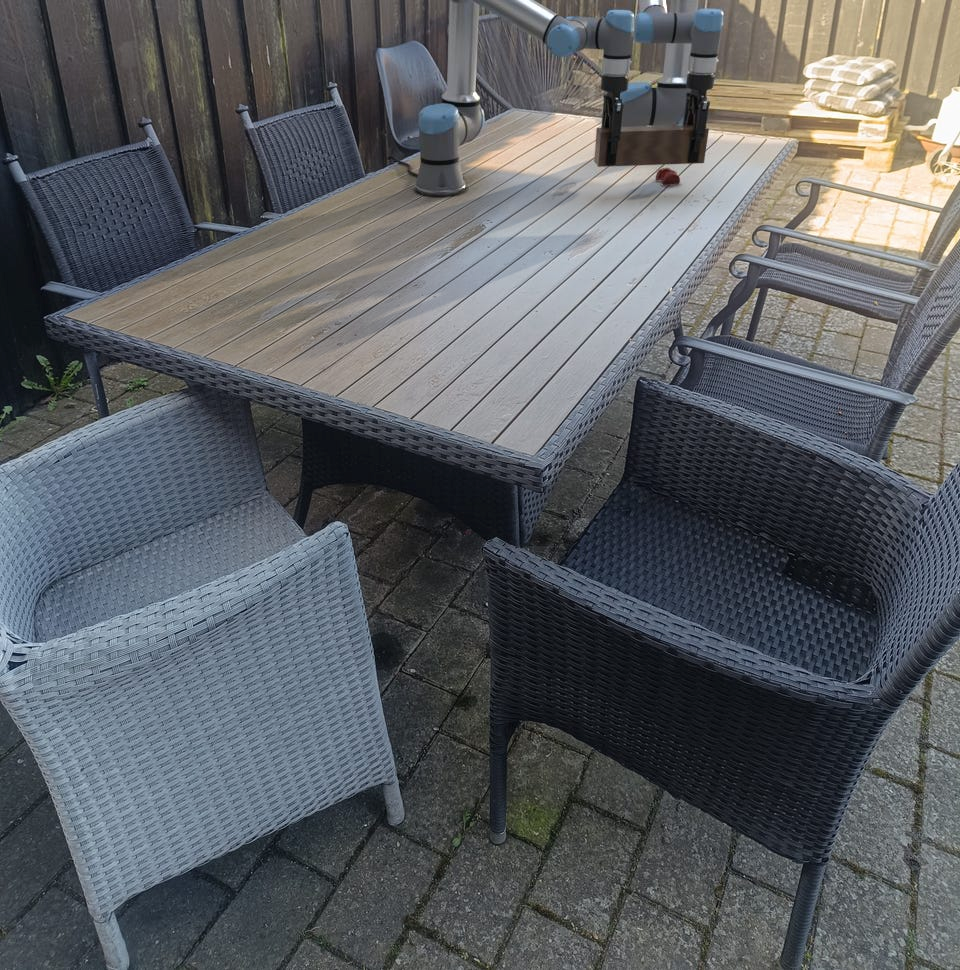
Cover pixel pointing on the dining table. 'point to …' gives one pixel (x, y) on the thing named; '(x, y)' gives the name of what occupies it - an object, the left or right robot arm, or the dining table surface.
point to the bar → (649, 145)
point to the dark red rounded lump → (668, 176)
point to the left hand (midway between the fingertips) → (608, 161)
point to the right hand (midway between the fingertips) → (689, 159)
